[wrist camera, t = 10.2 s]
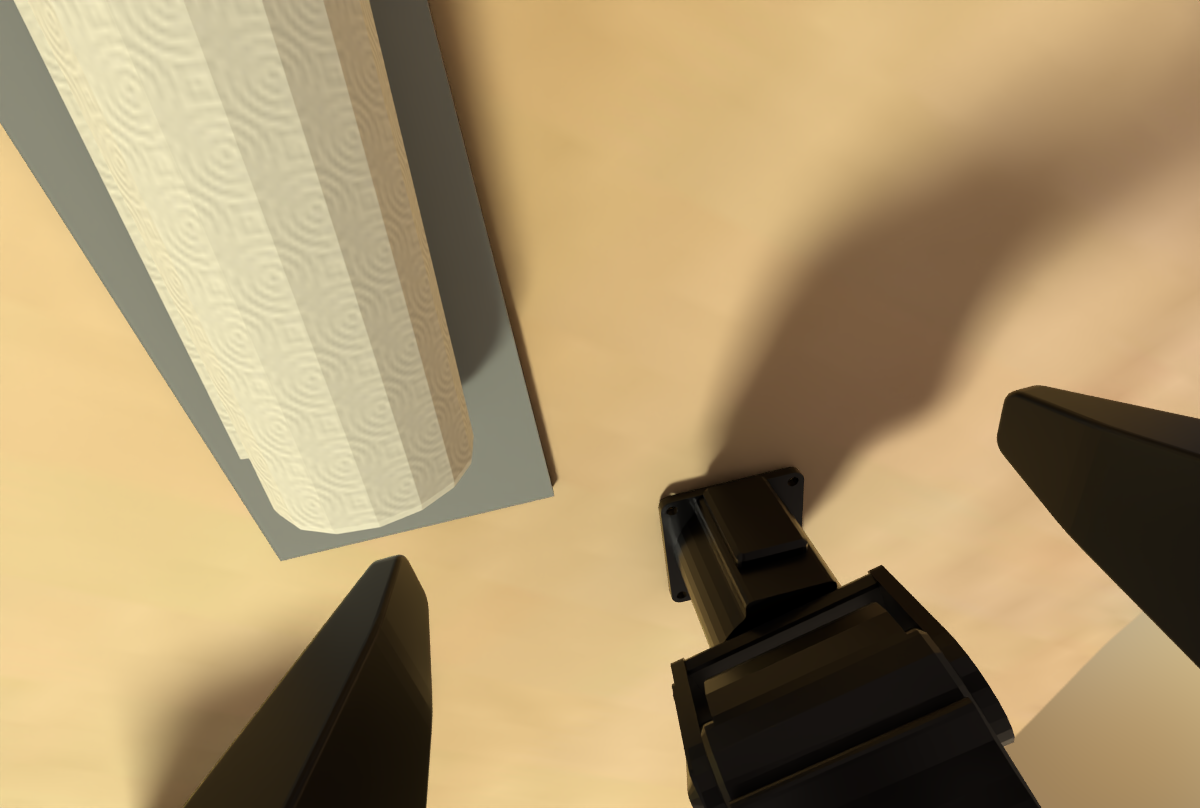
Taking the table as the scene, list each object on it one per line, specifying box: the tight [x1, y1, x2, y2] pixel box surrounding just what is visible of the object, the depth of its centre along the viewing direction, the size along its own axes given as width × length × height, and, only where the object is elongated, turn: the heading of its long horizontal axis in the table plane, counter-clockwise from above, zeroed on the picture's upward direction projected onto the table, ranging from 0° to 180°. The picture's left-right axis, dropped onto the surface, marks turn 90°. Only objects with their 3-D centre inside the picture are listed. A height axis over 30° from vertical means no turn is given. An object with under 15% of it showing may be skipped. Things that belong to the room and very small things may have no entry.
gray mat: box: [0, 0, 554, 561], centre depth 17 cm, size 24×11×1 cm, turn 9°
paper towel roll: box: [14, 0, 474, 534], centre depth 13 cm, size 7×6×21 cm
